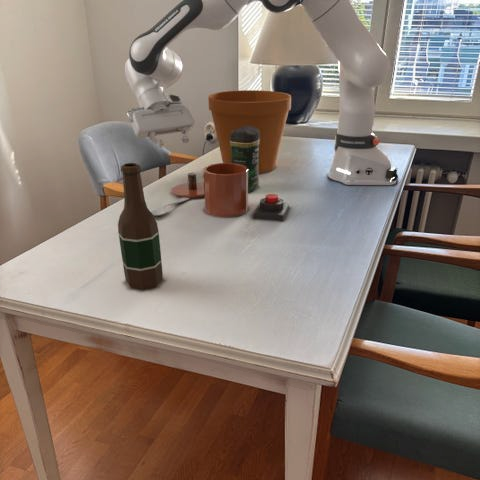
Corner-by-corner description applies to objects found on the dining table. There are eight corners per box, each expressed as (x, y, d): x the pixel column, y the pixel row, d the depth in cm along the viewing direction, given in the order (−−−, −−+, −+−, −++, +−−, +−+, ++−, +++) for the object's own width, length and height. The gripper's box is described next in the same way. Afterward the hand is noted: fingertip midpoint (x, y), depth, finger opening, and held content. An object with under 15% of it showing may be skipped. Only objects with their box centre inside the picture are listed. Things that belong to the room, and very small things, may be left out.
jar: (251, 204, 141) (251, 164, 135) (242, 218, 131) (242, 176, 125) (211, 201, 143) (210, 162, 137) (200, 215, 133) (198, 173, 127)
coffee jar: (249, 194, 148) (250, 131, 138) (226, 191, 151) (225, 128, 141) (262, 186, 156) (263, 125, 146) (240, 183, 159) (240, 123, 149)
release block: (261, 205, 140) (261, 193, 138) (288, 207, 138) (289, 195, 137) (253, 218, 131) (253, 206, 129) (282, 221, 129) (283, 208, 128)
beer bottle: (127, 274, 103) (111, 159, 91) (164, 272, 104) (153, 158, 91) (123, 291, 97) (105, 171, 84) (162, 290, 97) (150, 170, 85)
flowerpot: (202, 175, 166) (199, 101, 153) (219, 155, 189) (218, 89, 177) (283, 179, 162) (287, 103, 149) (291, 158, 185) (294, 91, 172)
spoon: (144, 218, 131) (143, 212, 130) (183, 196, 147) (182, 191, 146) (156, 220, 130) (156, 215, 129) (194, 198, 146) (194, 192, 145)
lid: (218, 187, 155) (217, 169, 152) (207, 200, 144) (206, 181, 141) (179, 185, 157) (178, 167, 154) (165, 197, 146) (164, 178, 143)
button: (266, 199, 135) (266, 193, 134) (279, 200, 134) (279, 194, 133) (264, 204, 132) (264, 197, 131) (277, 204, 131) (277, 198, 130)
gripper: (127, 102, 143) (147, 142, 142) (185, 96, 154) (204, 133, 152) (122, 116, 148) (141, 155, 147) (178, 109, 159) (197, 145, 158)
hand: (174, 144), depth 150 cm, fingers open, 8 cm apart
